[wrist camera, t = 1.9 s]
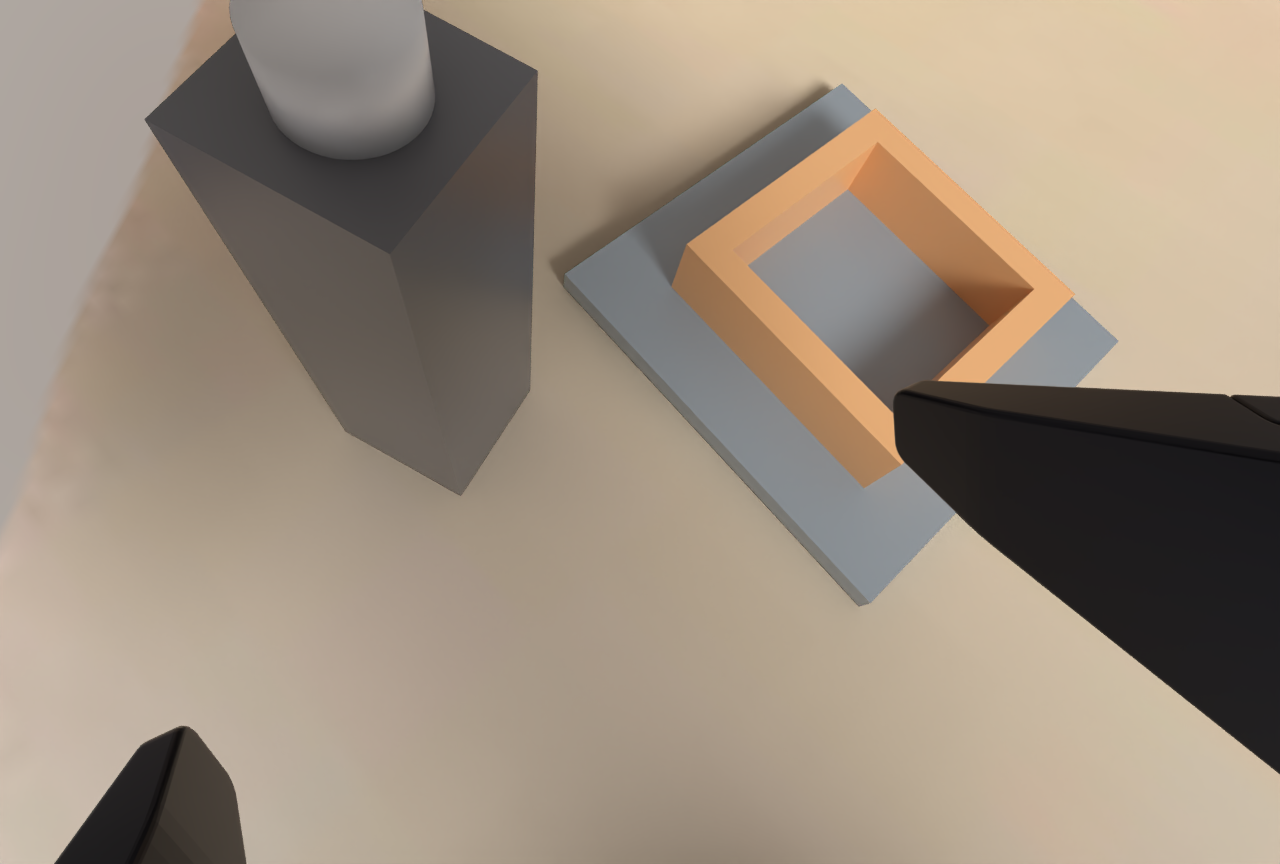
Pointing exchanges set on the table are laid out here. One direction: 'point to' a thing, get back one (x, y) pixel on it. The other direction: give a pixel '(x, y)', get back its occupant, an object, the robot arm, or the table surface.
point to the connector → (376, 211)
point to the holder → (831, 323)
